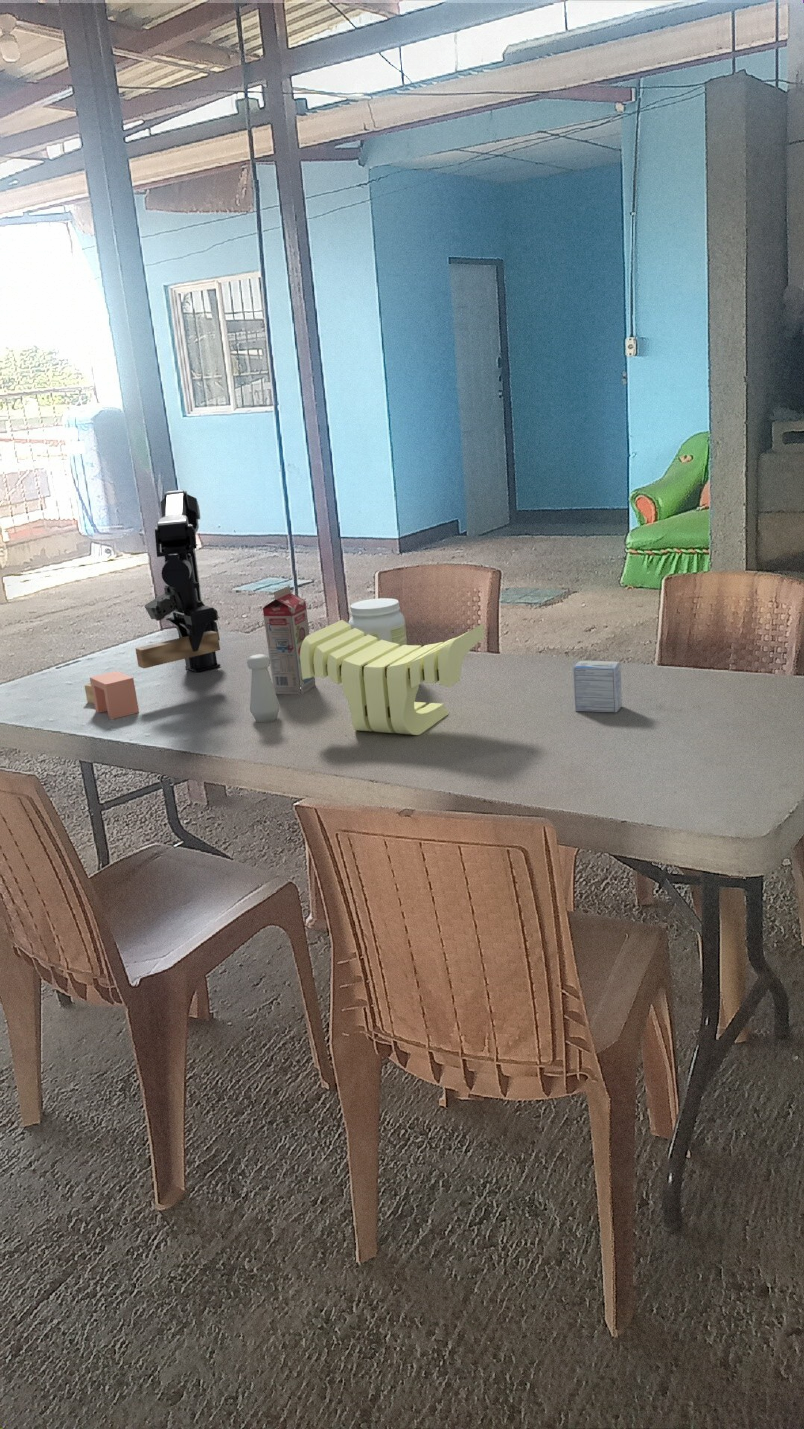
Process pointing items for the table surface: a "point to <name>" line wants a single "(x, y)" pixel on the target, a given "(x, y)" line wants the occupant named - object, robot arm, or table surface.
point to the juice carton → (286, 641)
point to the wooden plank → (175, 650)
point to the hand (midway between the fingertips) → (192, 650)
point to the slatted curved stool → (385, 675)
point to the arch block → (114, 694)
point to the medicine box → (597, 686)
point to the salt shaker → (262, 690)
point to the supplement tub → (379, 619)
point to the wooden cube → (89, 693)
